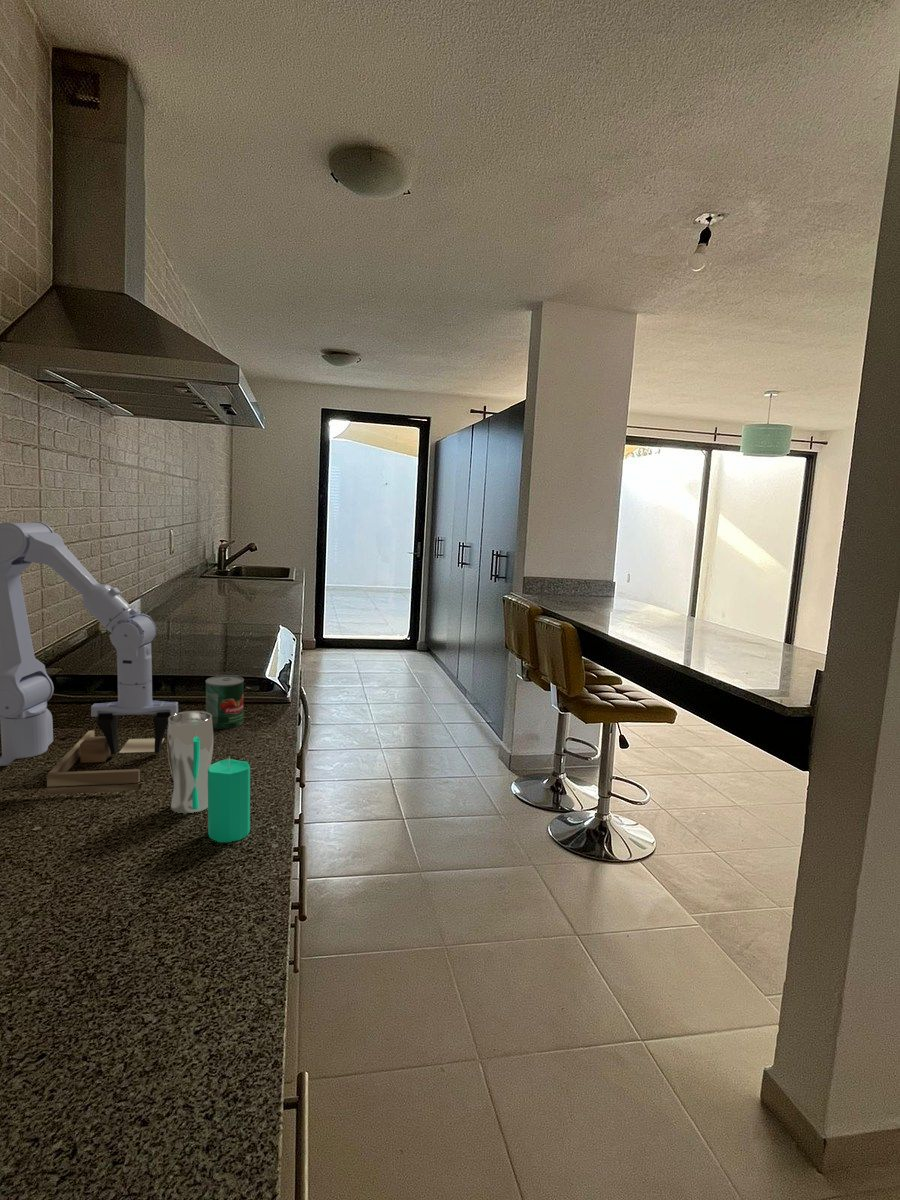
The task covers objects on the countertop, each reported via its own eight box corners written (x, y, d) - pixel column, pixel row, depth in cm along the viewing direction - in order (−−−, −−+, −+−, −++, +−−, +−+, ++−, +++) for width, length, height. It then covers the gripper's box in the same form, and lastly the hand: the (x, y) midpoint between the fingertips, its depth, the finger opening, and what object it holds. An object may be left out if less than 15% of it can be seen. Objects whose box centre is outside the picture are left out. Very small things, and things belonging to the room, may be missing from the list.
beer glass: (222, 802, 109) (222, 714, 107) (190, 819, 103) (189, 726, 101) (191, 793, 112) (191, 707, 110) (158, 809, 106) (156, 718, 104)
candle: (237, 845, 96) (237, 766, 94) (199, 839, 97) (199, 761, 95) (257, 826, 101) (257, 751, 100) (221, 821, 103) (221, 747, 101)
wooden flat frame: (89, 747, 130) (89, 730, 130) (165, 744, 133) (164, 728, 133) (47, 794, 109) (46, 774, 108) (138, 790, 112) (138, 771, 112)
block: (87, 754, 123) (87, 736, 123) (110, 754, 124) (110, 736, 123) (80, 762, 119) (80, 744, 119) (104, 762, 120) (104, 743, 120)
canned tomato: (236, 735, 140) (236, 685, 139) (199, 733, 140) (199, 683, 139) (248, 723, 148) (248, 676, 147) (213, 722, 148) (213, 674, 147)
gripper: (180, 675, 127) (181, 743, 129) (98, 676, 124) (100, 745, 125) (173, 684, 120) (174, 756, 122) (86, 686, 117) (88, 759, 119)
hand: (136, 751), depth 123 cm, fingers open, 7 cm apart
